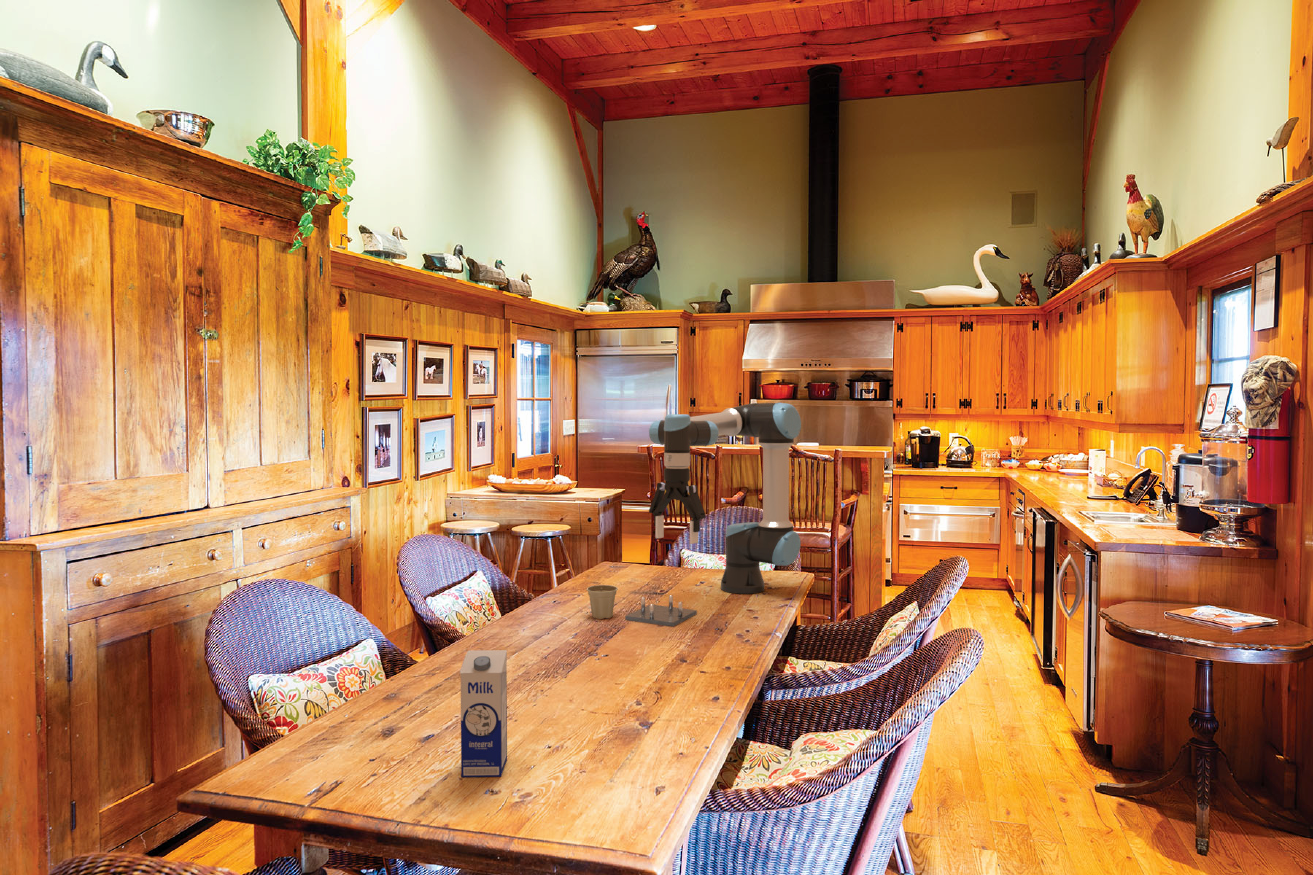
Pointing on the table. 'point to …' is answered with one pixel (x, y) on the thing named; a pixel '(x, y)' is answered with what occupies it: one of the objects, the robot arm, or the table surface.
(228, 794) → the table surface
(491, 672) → the milk carton
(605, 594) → the flower pot
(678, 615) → the plate
